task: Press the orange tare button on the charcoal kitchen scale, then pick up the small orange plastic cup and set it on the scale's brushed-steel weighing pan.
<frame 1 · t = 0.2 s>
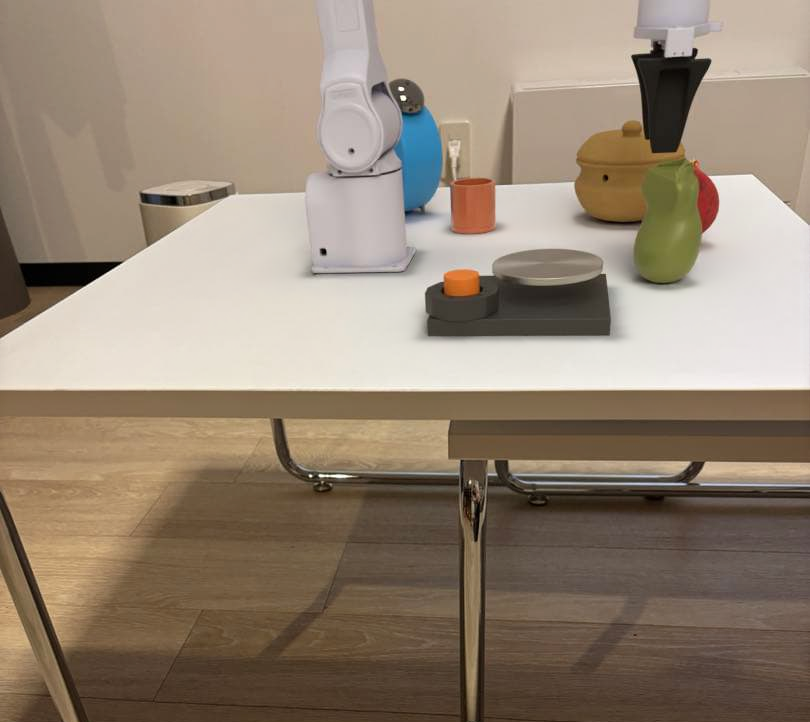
hand: (660, 145, 74), 10 cm above the table, tool pointing down, fingers open, 7 cm apart
alarm clock: (393, 215, 104), on the table
scale: (521, 312, 69), on the table
tare button: (461, 284, 65), point 3 cm above the table, slide at 0.1 cm
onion: (682, 248, 83), on the table
pot: (624, 220, 94), on the table
orange plastic cup: (473, 228, 94), on the table
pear: (661, 284, 73), on the table
scale pan: (545, 306, 70), resting on scale
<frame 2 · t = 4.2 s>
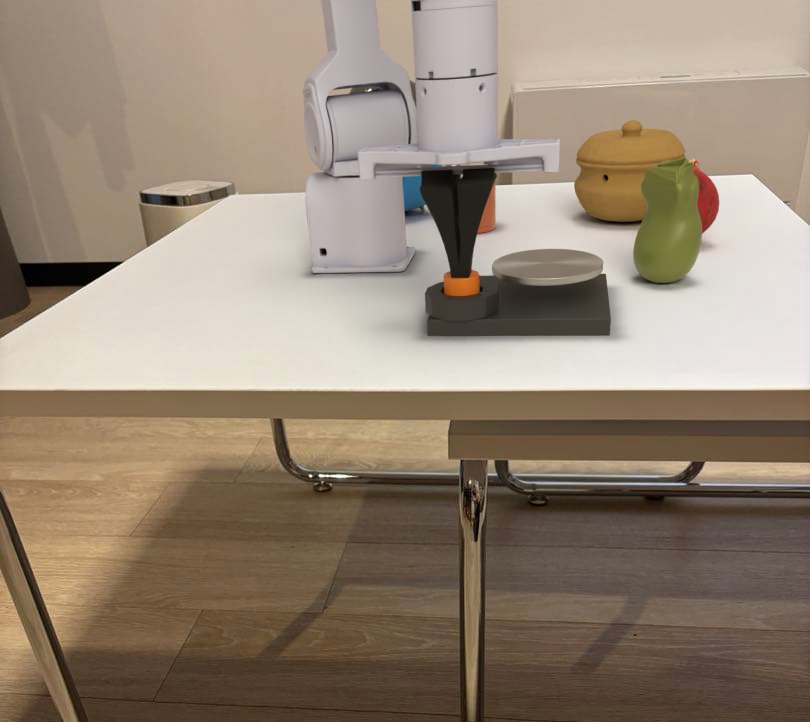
hand: (461, 274, 64), 4 cm above the table, tool pointing down, fingers closed, pressing on tare button
tare button: (461, 284, 65), point 3 cm above the table, slide at 0.1 cm, touching gripper
everything else where it was.
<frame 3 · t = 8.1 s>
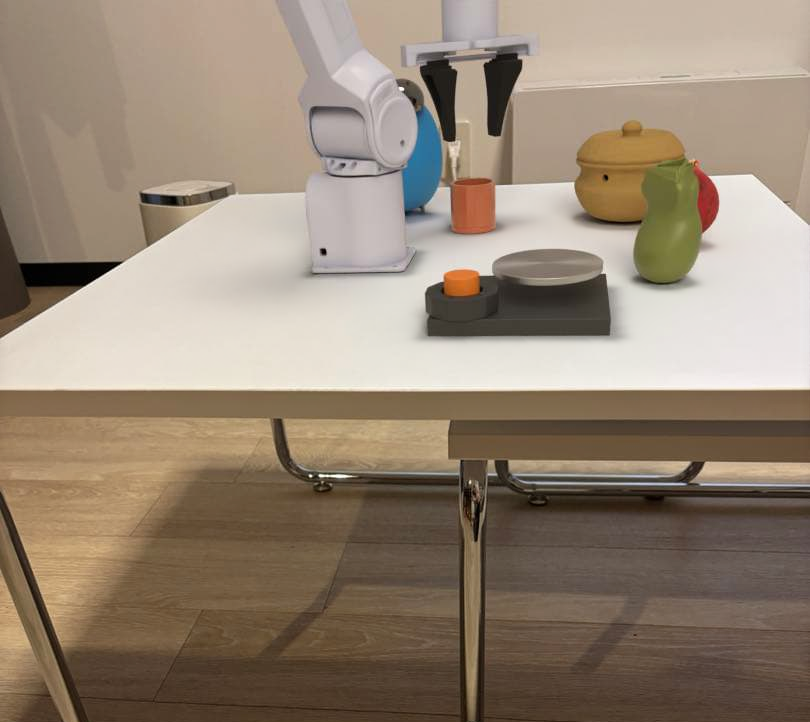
hand: (472, 138, 89), 9 cm above the table, tool pointing down, fingers open, 5 cm apart
tare button: (461, 284, 65), point 3 cm above the table, slide at 0.1 cm
everything else where it was.
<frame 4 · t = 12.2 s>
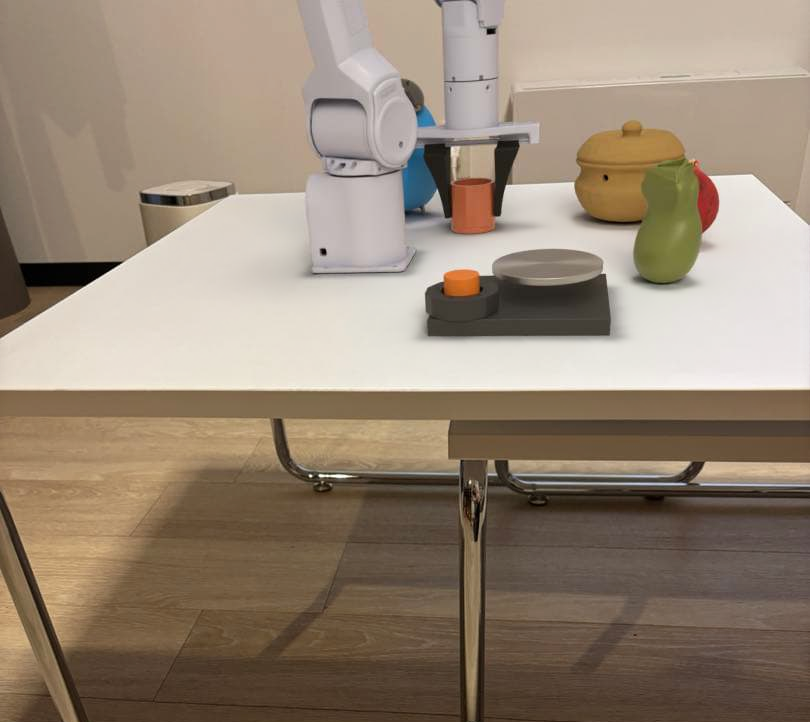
hand: (473, 215, 94), 1 cm above the table, tool pointing down, fingers closed on orange plastic cup, 5 cm apart
orange plastic cup: (473, 228, 94), on the table, touching gripper
everything else where it was.
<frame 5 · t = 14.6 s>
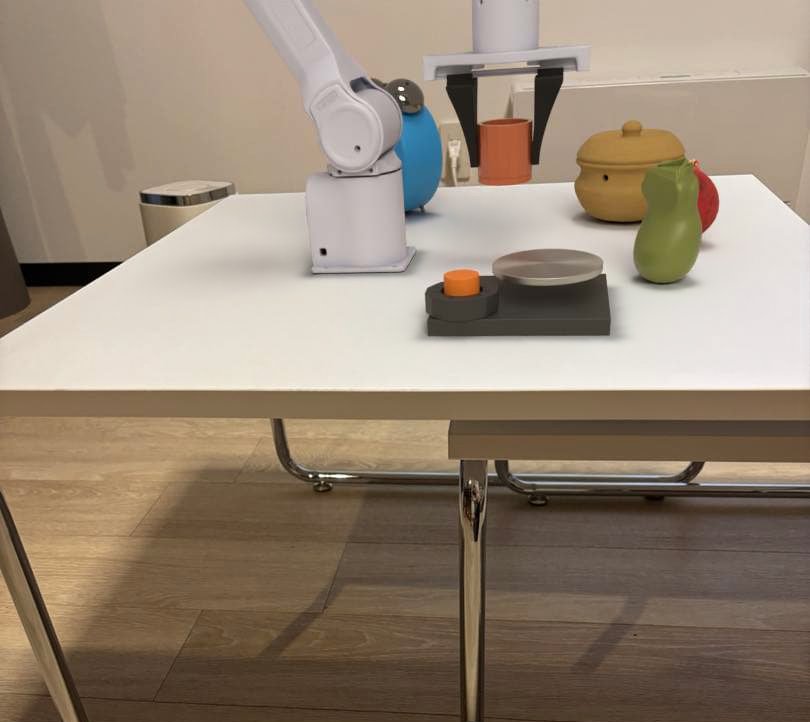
hand: (505, 164, 77), 9 cm above the table, tool pointing down, fingers closed on orange plastic cup, 5 cm apart
orange plastic cup: (504, 180, 78), point 8 cm above the table, touching gripper
everything else where it was.
when the fingers open (5 cm above the table, at t = 17.3 s): orange plastic cup stays where it is, resting on scale pan.
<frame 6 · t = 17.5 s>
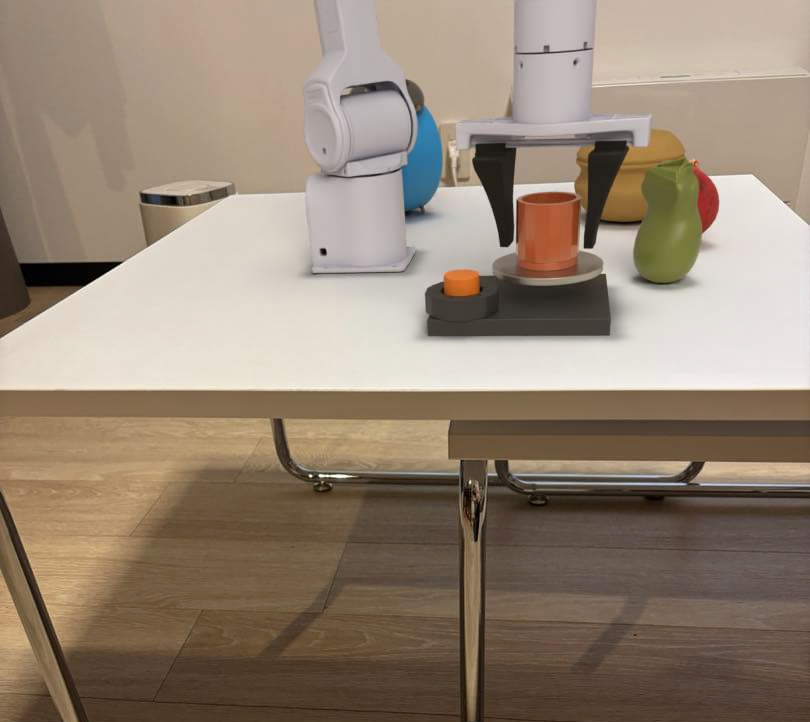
hand: (547, 245, 67), 5 cm above the table, tool pointing down, fingers open, 6 cm apart
orange plastic cup: (546, 262, 68), point 4 cm above the table, touching scale pan
everything else where it was.
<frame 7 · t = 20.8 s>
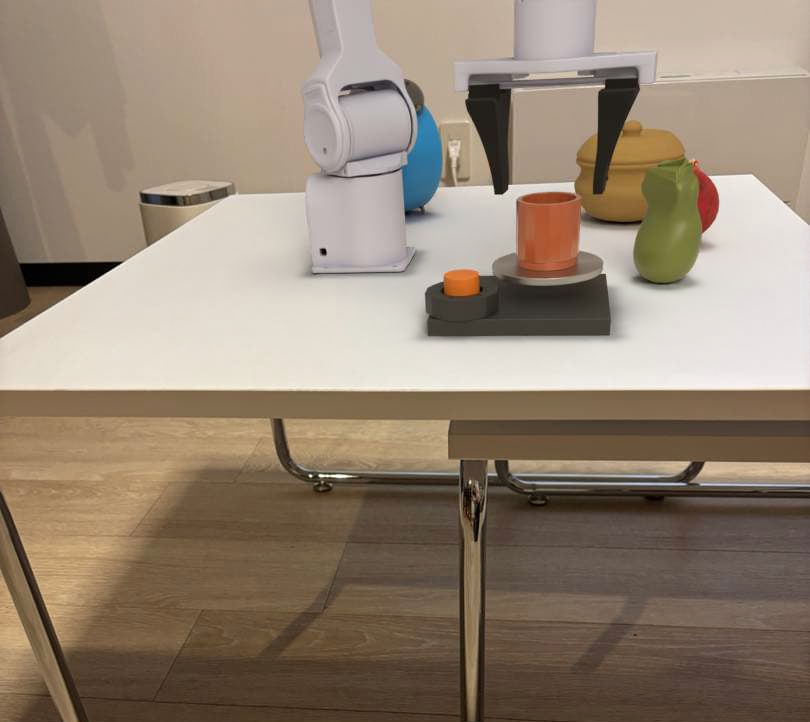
hand: (549, 192, 65), 9 cm above the table, tool pointing down, fingers open, 7 cm apart
nothing on the table moved.
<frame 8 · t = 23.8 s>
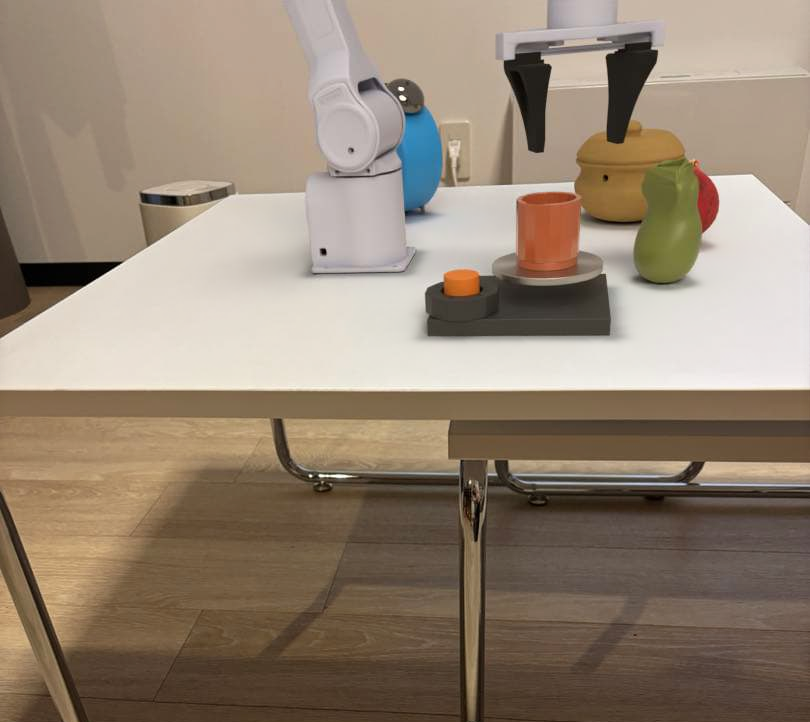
hand: (575, 147, 74), 10 cm above the table, tool pointing down, fingers open, 7 cm apart
nothing on the table moved.
at the end: tare button pushed in 1.0 cm at the most during the clip, back to where it started at the end; tare button slide at 0.1 cm; orange plastic cup 0.1 cm from the target spot on the scale, point 3.6 cm above the scale's base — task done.
